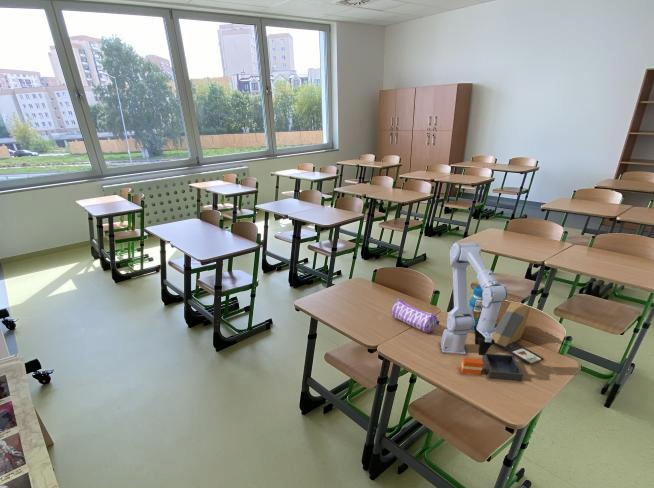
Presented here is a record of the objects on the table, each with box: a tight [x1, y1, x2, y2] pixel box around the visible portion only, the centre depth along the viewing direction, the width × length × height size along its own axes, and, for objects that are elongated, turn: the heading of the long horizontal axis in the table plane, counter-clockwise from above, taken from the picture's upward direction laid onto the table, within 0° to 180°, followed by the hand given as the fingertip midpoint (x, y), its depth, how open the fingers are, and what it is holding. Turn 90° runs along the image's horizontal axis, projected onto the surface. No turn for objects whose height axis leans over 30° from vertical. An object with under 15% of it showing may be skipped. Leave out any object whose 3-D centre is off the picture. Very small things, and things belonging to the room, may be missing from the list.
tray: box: [481, 352, 524, 382], centre depth 154 cm, size 12×14×4 cm
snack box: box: [460, 357, 484, 375], centre depth 152 cm, size 7×3×5 cm, turn 82°
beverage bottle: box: [467, 285, 483, 333], centre depth 179 cm, size 8×8×20 cm
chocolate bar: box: [492, 342, 544, 365], centre depth 167 cm, size 9×1×18 cm
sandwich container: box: [492, 301, 531, 346], centre depth 172 cm, size 9×15×15 cm, turn 130°
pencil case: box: [391, 297, 440, 334], centre depth 184 cm, size 22×9×10 cm, turn 42°
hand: (479, 349), depth 150 cm, fingers open, 7 cm apart
